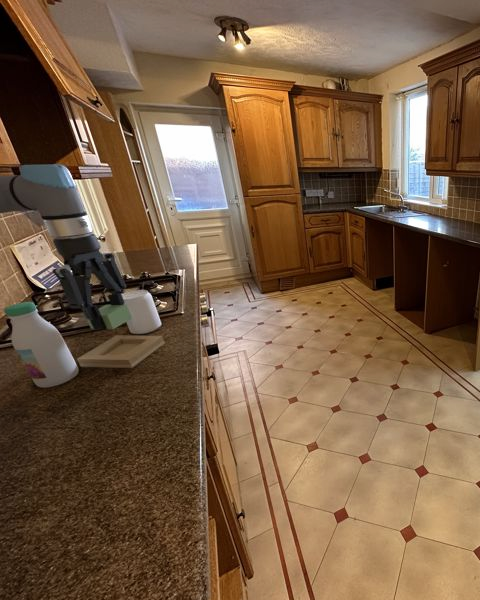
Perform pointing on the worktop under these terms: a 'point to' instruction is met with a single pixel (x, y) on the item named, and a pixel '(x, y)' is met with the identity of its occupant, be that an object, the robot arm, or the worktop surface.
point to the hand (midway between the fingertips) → (111, 322)
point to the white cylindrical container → (141, 312)
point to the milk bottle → (40, 346)
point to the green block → (113, 315)
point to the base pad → (121, 351)
